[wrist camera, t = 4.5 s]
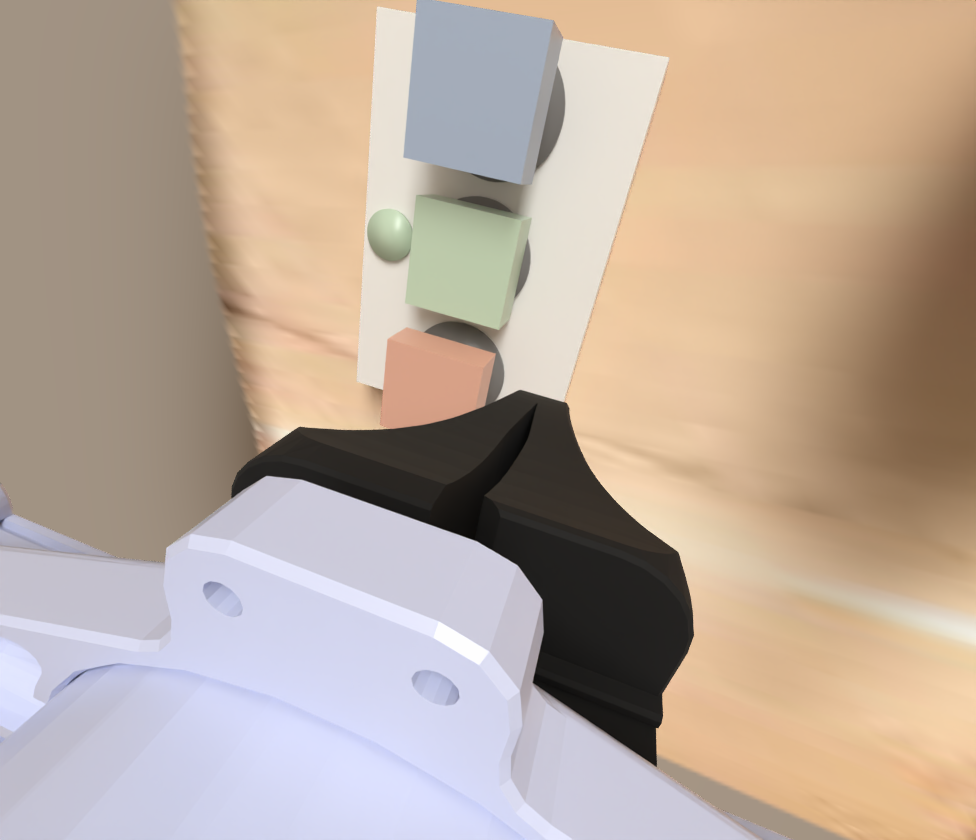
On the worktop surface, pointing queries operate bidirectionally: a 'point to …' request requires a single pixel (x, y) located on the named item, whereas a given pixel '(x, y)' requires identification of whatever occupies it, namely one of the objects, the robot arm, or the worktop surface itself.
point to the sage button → (465, 259)
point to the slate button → (480, 89)
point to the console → (510, 210)
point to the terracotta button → (432, 379)
